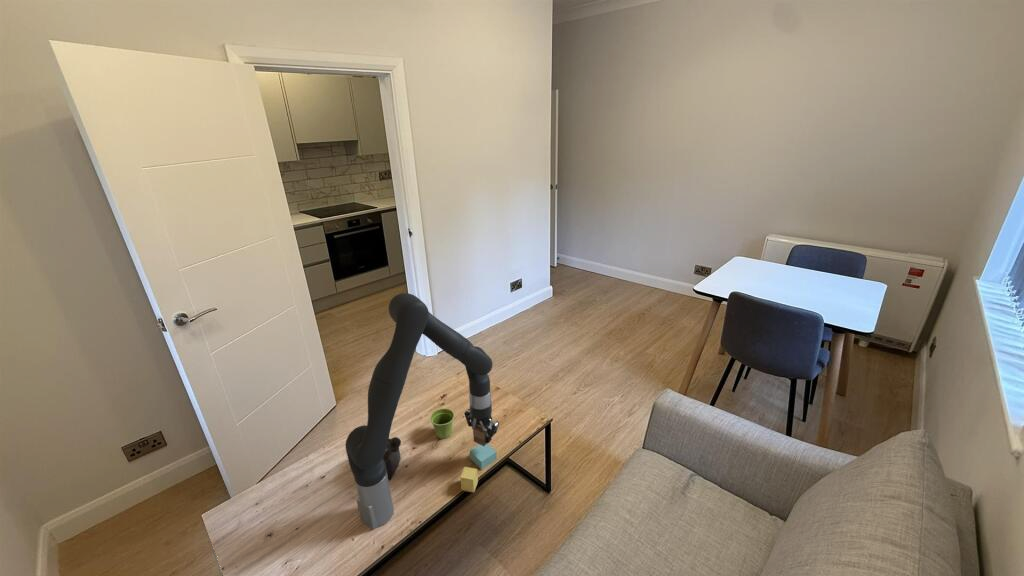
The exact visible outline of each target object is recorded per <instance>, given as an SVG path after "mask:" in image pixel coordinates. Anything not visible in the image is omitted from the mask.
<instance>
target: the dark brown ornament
mask: <svg viewBox="0 0 1024 576" xmlns="http://www.w3.org/2000/svg"><path fill="white" fill-rule="evenodd" d="M401 444H402V441H401V439H400V438H399V437H397V436H394V437H391V438H389V439H388V444H387V448H386V452H385V455H384V457H383V459H384V461H385V464H386V469H387V475H388V481H391V480H392V479H393V477H394V475H395V474H396V471H397V469H398V467H399V466H400V462H401V459H402V458H401V452H400V446H401Z"/></svg>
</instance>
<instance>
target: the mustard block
mask: <svg viewBox="0 0 1024 576" xmlns="http://www.w3.org/2000/svg"><path fill="white" fill-rule="evenodd" d="M478 473H479V472H478V469H477V468H474V467H468V466H464V467H463V471H462V472H461V475H460V490H461V491H463V492H469V493H475V491H476V488H477V486H478V483H479V475H478Z"/></svg>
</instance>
